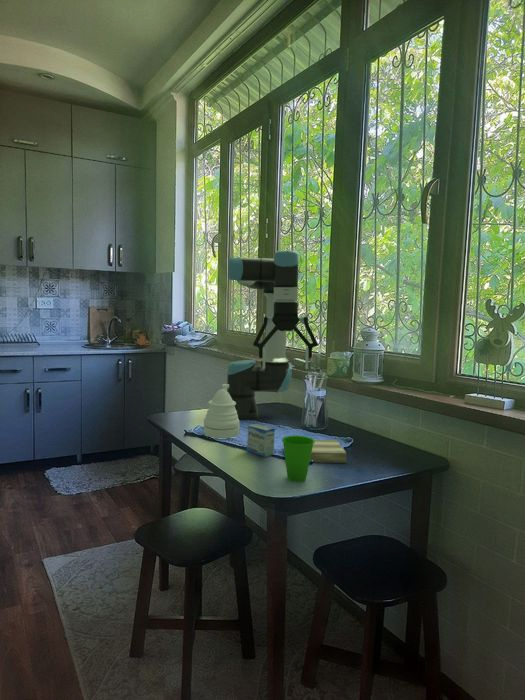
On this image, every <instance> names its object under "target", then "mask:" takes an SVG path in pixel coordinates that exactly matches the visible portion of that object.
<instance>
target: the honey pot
mask: <svg viewBox="0 0 525 700" xmlns="http://www.w3.org/2000/svg"><path fill="white" fill-rule="evenodd" d="M221 387H222V388H221V389H219V390H217V392H215V394H214V396H213V398H212V399H211V400H208V401H207V403H208V406H209V407H208V409H207V410H206V414H205V417H204V419H203V435H204V434H205V435H207V436H209V437H214V438H231V437H236V436H238V435H239V436H240V421H241V420H239V419H238V415H237V411H236V409H235V405H236V402H235V401H233V400H232V398H231V396H230V394H229V393H228V392H227V389H228V388H229V384H227V383H222V386H221ZM239 436H238V437H239ZM236 438H237V437H236Z"/></svg>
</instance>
